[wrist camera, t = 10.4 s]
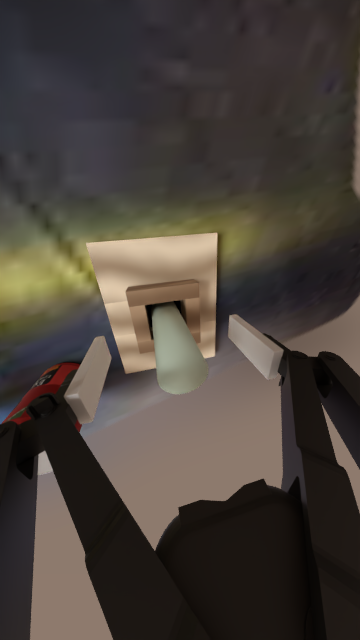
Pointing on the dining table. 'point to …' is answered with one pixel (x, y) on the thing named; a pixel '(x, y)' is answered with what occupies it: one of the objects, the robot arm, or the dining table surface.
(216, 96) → the dining table surface
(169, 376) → the peg
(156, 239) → the socket board
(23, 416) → the canned food
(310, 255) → the dining table surface
